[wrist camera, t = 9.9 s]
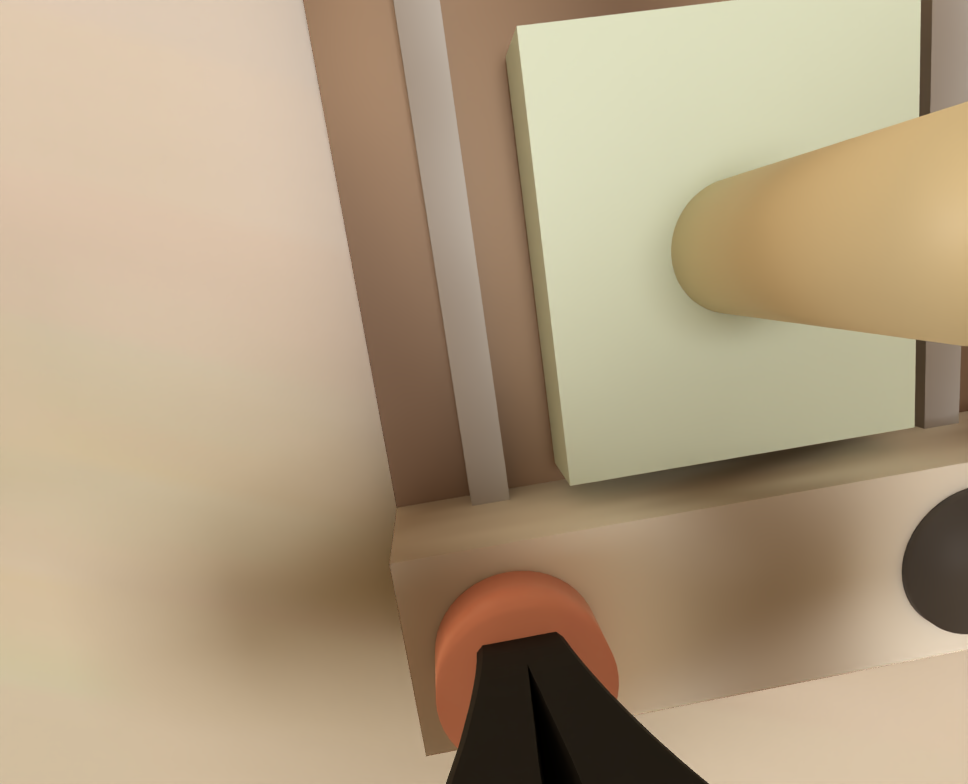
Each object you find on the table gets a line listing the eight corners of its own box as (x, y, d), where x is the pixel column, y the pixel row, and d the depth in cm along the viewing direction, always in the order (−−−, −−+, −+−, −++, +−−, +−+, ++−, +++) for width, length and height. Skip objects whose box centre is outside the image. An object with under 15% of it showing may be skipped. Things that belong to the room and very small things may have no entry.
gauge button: (589, 557, 10) (609, 592, 9) (605, 701, 11) (626, 751, 10) (422, 587, 10) (422, 628, 9) (448, 732, 11) (450, 787, 10)
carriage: (861, 13, 11) (1396, -307, 5) (863, 410, 13) (1266, 538, 7) (505, 57, 11) (610, -234, 5) (554, 462, 13) (679, 650, 6)
